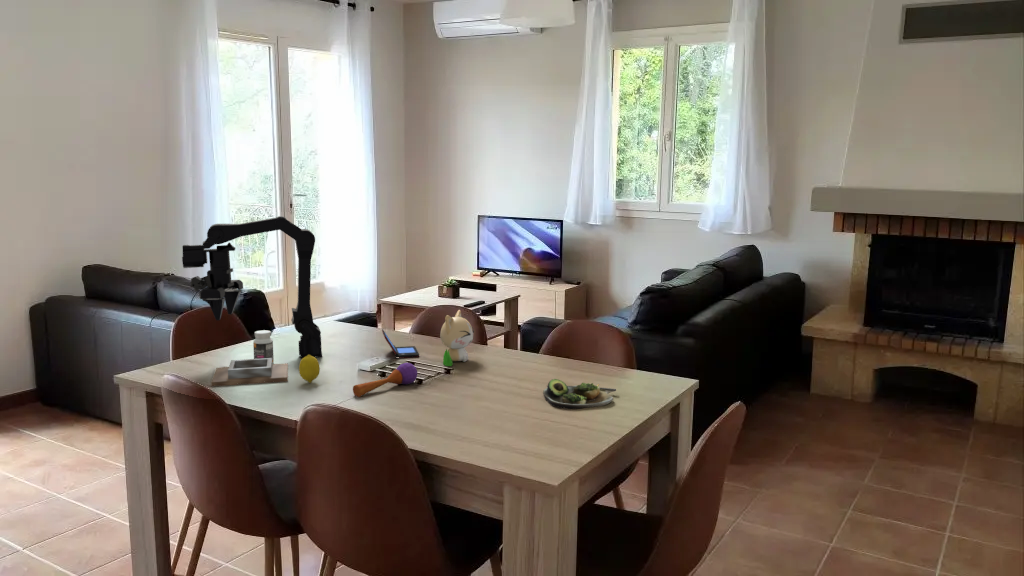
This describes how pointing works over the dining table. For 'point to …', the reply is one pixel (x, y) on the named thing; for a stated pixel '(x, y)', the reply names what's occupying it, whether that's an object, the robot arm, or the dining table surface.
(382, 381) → the purple and orange maraca
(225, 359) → the dining table surface
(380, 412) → the dining table surface
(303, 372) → the lemon
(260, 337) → the pill bottle
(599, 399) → the salad plate
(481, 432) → the dining table surface
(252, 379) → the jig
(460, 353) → the kitten
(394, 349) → the handheld game console
